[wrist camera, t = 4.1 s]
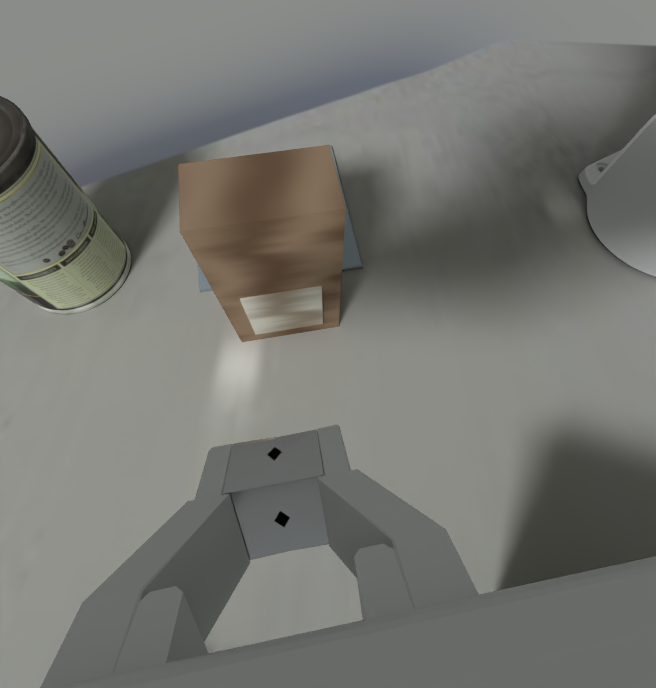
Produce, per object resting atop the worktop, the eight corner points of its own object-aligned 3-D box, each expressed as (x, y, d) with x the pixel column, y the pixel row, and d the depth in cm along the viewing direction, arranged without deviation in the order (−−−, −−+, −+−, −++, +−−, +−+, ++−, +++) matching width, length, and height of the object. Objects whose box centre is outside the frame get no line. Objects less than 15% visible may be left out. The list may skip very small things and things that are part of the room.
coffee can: (10, 314, 34) (-185, 203, 21) (45, 227, 38) (-102, 89, 25) (119, 316, 34) (-11, 205, 21) (142, 229, 38) (46, 90, 25)
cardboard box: (329, 281, 36) (329, 144, 22) (339, 328, 34) (346, 211, 20) (237, 295, 35) (178, 164, 21) (242, 344, 33) (179, 234, 19)
